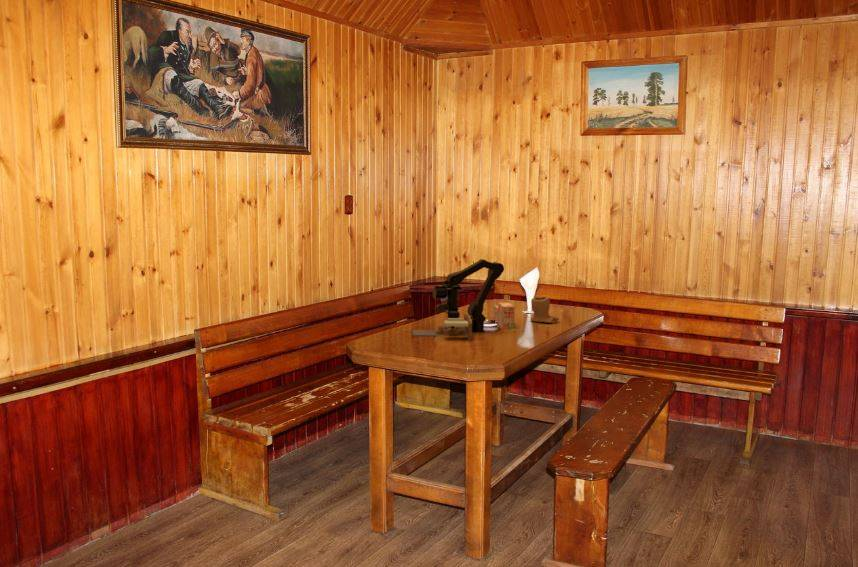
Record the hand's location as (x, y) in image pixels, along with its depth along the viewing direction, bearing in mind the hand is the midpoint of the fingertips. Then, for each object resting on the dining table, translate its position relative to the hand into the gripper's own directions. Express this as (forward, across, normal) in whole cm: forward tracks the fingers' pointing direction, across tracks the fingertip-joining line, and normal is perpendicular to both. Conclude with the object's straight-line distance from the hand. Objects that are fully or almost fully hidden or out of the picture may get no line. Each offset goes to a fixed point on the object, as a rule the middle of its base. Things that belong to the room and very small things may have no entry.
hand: (451, 327), depth 388 cm
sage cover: (-4, +15, +1) cm, 16 cm away
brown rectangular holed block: (+3, +7, +1) cm, 7 cm away
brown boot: (+3, -32, +55) cm, 64 cm away
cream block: (+3, 0, 0) cm, 3 cm away
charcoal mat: (+3, +5, -14) cm, 16 cm away
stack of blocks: (+4, -25, +31) cm, 40 cm away
